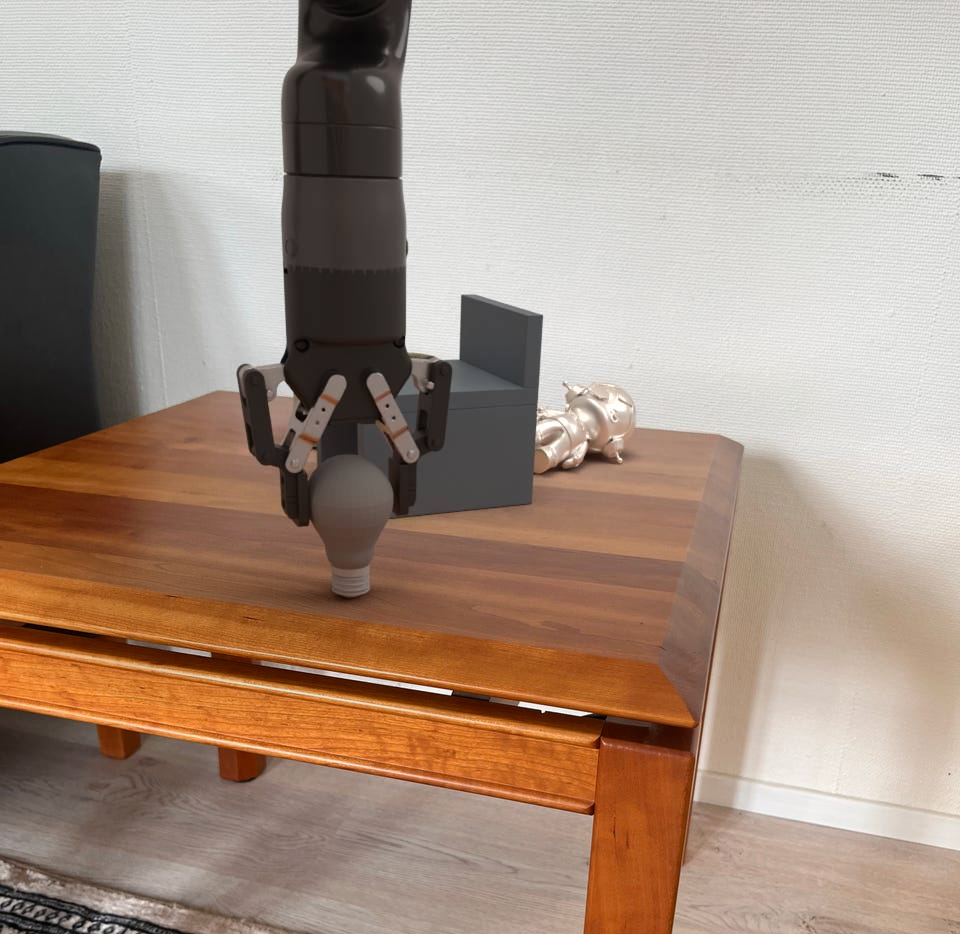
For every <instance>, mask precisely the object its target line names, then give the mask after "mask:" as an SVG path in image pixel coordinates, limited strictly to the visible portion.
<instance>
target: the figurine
mask: <svg viewBox="0 0 960 934" xmlns="http://www.w3.org/2000/svg"><path fill="white" fill-rule="evenodd" d="M562 386H563V388H564V387H565V388H567V390H568V391H567V392H566V393H565V394H564V398H565V403H566V404H565V409H564V410H562V409H558V408H551V407H546V406H545V407H543V406H538V408H537V424H536V440H535V447H537V448H535V457H534V473H535V474H538V475H539V474H542V473H545V472H546V471H547V470H548V469H551V468H555V467H557V466H558V464H560V463H561V462H562V465H561V467H562V469H564V470H568V469H572V468H574V467H578V466H579V465H580V463H583V462H584V457H585V456H586V454H587V453H589V454H599V453H600V454H601V455H603V456H605V457H607V458H608V459H609V458H614V457H615V458H616V463H617V464H622V463H623V458H622V457H620V455H619V454H621V453H622V452H623V451H624V444H625V443H626V442H627V441H629V439H630V438H631V436H632V435H633V434H634V431H635V429H636V426H637V408H636V405H635V402H634V399H633V397H632V396H631V395H630V394H629V392H627V390H626V389H624V388H622V387H621V386H619V385H617V384H616V383H612V382H598V383H597V382H595V381H592V382H591V383H589V384H588V385H587V386H585V385H581V384H579V383H576V384H575V385H573V386H572V387H571V386H570V385H569V381H567V380H563V381H562ZM538 446H539V447H538Z"/></svg>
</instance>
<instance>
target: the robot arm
mask: <svg viewBox="0 0 960 934" xmlns="http://www.w3.org/2000/svg"><path fill="white" fill-rule="evenodd" d="M297 2H298V4H297V9H298V12H297V45H296V46H297V47H296V59H295V62H294V64H293V65H291V67H290V68H289V69H288V70H287V71H286V73H285V75H284V77H283V80H282V85H281V95H280V122H281V142H282V143H281V145H282V168H283V169H282V170H283V173H284V175H282V176H283V177H282V178H283V180H282V181H283V182H282V183H283V184H282V185H283V188H282V199H281V211H280V212H281V213H280V227H281V228H280V229H281V248H282V249H281V250H282V253H281V254H282V271H283V272H282V273H283V296H284V297H283V298H284V320H285V339H286V341H285V342H286V343H285V350H284V353H283V354H282V357H281V359H280V361H279V363H272V364H264V365H257V366H253V365H251V364H249V363H241V364H240V365H239V366H238V367H237V370H236V379H237V381H236V382H237V386H238V392H239V398H240V405H241V410H242V416H243V417H242V418H243V423H244V428H245V429H244V430H245V434H246V435H245V436H246V441H247V442H246V443H247V448H248V451H249V453H250V454H251V455H252V456H253V457H254V458H255V459H256V461H257V462H258V463H259V464H260V465H262V466H264V467H268V466H270V467H275V468H277V469H278V470H279V483H280V485H279V486H280V487H279V488H280V505H281V508H282V510H283V513H284V514H285V515H286V516H287V517H288V519H289V520H292V521H291V522H293V524H294V525H296V527H297V528H302V527H309V526H310V520H309V497H308V480H309V475H308V472H307V471H306V470H305V469H304V467H305V465H306V462H307V460H308V459H309V457H310V455H311V452H312V450H313V448H314V447H313V446H314V444H316V443H317V442H318V441H319V440H320V438H321V436H322V434H323V431H324V429H325V427H326V425H328V426H329V427H334V426H343V425H345V424H348V423H351V422H355V423H360V424H376V425H377V426H378V428H379V429H380V430H381V432H382V434H383V436H384V437H385V439H386V441H387V443H388V445H389V447H390V449H391V450H392V452H393V457H388V480H389V482H390V484H391V486H392V490H393V509H392V512H393V513H394V514H395V515H397V516H404V515H408V513H409V507H411V506H414V504H415V501H416V482H417V462H418V460H419V458H420V457H421V456H423V455H424V454H427V453H429V452H431V451H433V452H437V451H440V450H441V449H442V448H443V446H444V441H445V432H446V424H447V415H448V406H449V397H450V388H451V379H452V367H451V365H450V364H449V363H447V362H445V361H443V360H444V359H441V358H438V357H437V356H435V357H434V355H431V356H427V357H425V358H424V359H416V358H410V356H409V354H408V352H409V351H408V350H407V347H406V336H407V258H408V255H409V241H408V237H407V214H406V213H407V212H406V204H405V196H404V182H403V179H402V177H403V175H404V174H403V172H404V171H403V170H404V169H403V168H404V167H403V166H404V161H403V159H404V157H403V156H404V155H403V154H404V151H403V149H404V148H403V147H404V142H403V141H404V129H403V128H404V127H403V124H404V123H403V121H404V120H403V106H402V87H403V86H402V85H403V77H404V71H405V64H406V57H407V51H408V44H409V43H408V42H409V34H410V25H411V17H412V7H413V0H298V1H297ZM410 375H412V377H413V382H414V386H415V387H416V388H417V389H418V390H419V399H418V409H417V419H416V429H415V432H414V433H412V434H410V432H409V430H408V425H407V423H406V421H405V419H404V417H403V415H402V413H401V411H400V409H399V407H398V405H397V404H396V402H395V398H396V397H397V395H398V394H399V392H400V391H401V389H402V388H403V386H404V384H405V383H406V381H407V380H408V378H409V377H410ZM282 382H285V384H286V385H287V386H288V388H289V389H290V390H291V391H292V393H294V394H295V395H296V396H297V398H298V401H297V403H296V405H295V408H294V410H293V409H292V412H291V414H290V416H289V419H288V421H287V427H286V431H285V433H284V435H283V437H282V439H281V442H280V444H278V443H275V438H274V432H273V425H272V418H271V412H270V406H269V402H272V401H273V400H275V398H276V397H277V394H278V387H279V385H280V384H281V383H282ZM304 411H305V412H304ZM303 412H304V413H303ZM316 421H317V423H316Z"/></svg>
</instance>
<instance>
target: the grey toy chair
mask: <svg viewBox="0 0 960 934" xmlns="http://www.w3.org/2000/svg"><path fill="white" fill-rule="evenodd" d="M459 320H460V321H459V322H460V324H459V353H458V354H459V355H458V357H459V358H458V359H442V360H443V361H445V362H447V363H449V364H450V365H451V367H452V379H451V388H450V397H449V406H448V415H447V424H446V432H445V441H444V446H443V448H442V449H441V450H440V451H437V452H433V451H431V452H429V453H427V454H424V455H423V456H421V457H420V458H419V460H418V462H417V482H416V501H415V504H414V506H411V507H409V513H408V515H404V516H397V515H395V514H394V513H393V512H392V513H391V516H390V518H389V519H395V518H405V517H415V516H425V515H436V514H444V513H453V512H462V511H472V510H473V511H474V510H482V509H492V508H499V507H500V508H501V507H502V508H503V507H510V506H521V505H522V506H523V505H529V504H530V505H531V504H532V502H533V489H534V488H533V487H534V473H535V472H534V457H535V449H536V446H535V440H536V424H537V409H538V408H539V404H538V403H539V389H540V388H539V387H540V375H541V359H542V342H543V328H544V327H543V325H544V314H542V313H537V312H534V311H531V310H528V309H526V308H525V309H524V308H521V307H518V306H514V305H512V304H509V303H506V302H505V303H504V302H501V301H498V300H496V299H491V298H488V297H485V296H482V295H479V294H473V293H472V294H470V293H469V294H461V295H460V317H459ZM418 399H419V390H418V389H417V388H416V387H415V386H414V382H413V377H412V375H410V377H409V378H408V380H407V381H406V383H405V384H404V386H403V388H402V389H401V391H400V392H399V394H398V395H397V397H396V398H395V402H396V404H397V405H398V407H399V409H400V411H401V413H402V415H403V417H404V419H405V421H406V423H407V425H408V430H409V432H410V434H412V433H414V432H415V429H416V419H417V409H418ZM316 423H317V421H316ZM344 454H352V455H359V456H362V457H365V458H367V459H370V460H371V461H372V462H374V463H375V464H376V465H378V466H379V468H380V469H381V470H382V471H383V472H384V473H385V475H386V476H387V478H388V457H393V452H392V450H391V449H390V447H389V445H388V443H387V441H386V439H385V437H384V436H383V434H382V432H381V430H380V429H379V428H378V426H377V425H376V424H360V423H355V422H351V423H348V424H345V425H343V426H334V427H329V426H328V425H326V427H325V429H324V431H323V434H322V436H321V438H320V440H319V441H318V442H317V447H316V468H317V467H318V466H319V465H320V464H321V463H323V462H324V461H325V460H327V459H329V458H331V457H334V456H337V455H344Z"/></svg>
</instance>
